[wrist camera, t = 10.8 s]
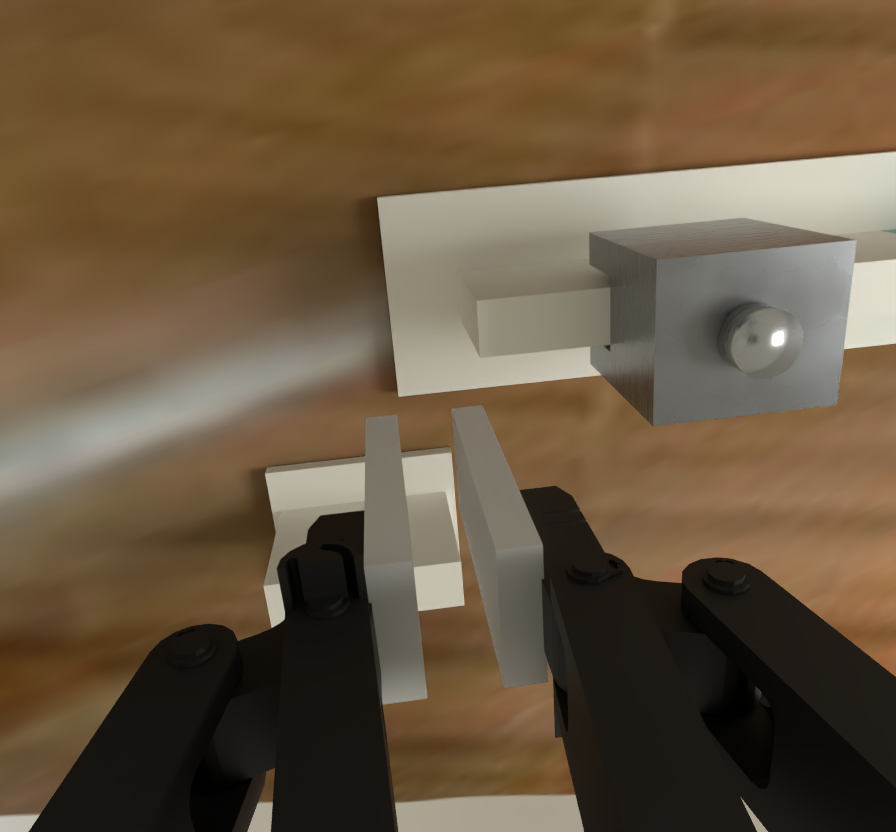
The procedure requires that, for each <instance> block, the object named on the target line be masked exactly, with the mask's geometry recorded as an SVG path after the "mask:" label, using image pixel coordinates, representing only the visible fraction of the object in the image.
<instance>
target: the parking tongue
mask: <svg viewBox="0 0 896 832" xmlns="http://www.w3.org/2000/svg"><path fill="white" fill-rule="evenodd" d="M401 456H402V465H403V474H404V483H405V492H406V501H407V510H408V520H409V529H410V539H411V548H412V558H413V567H414V576H415V586H416V595H417V605H418V611H423V610H431V609H438V608H446V607H454V606H462V605H464V594H463V582H462V569H461V560H460V552H459V540H458V528H457V516H456V504H455V492H454V480H453V468H452V456H451V450H450V447H443V448H435V449H426V450H417V451H408V452H401ZM265 476H266V482H267V487H268V492H269V498H270V503H271V509H272V514H273V519H274V525H275V530H276V535H275V540H274V544H273V548H272V552H271V556H270V561H269V565H268V569H267V573H266V577H265V582H264V591H265V596H266V601H267V606H268V611H269V616H270V621H271V626H272V628H273V627H274V626H276V625H278V624H279V623H281V622H282V621H283V620H284V619H285V610H284V605H283V600H282V594H281V589H280V584H279V579H278V573H277V566H278V564H279V561H280V559H281V558H282V557H284V556H285V555H286V554H287V553H288V552H289V551H291V550H293V549H295V548H297V547H299V546H301V545H303V544H306V539H307V533H308V529H309V528H310V526H311V525H312V524H313V523H314V522H315V521H316V520H317V519H318V517H319V516H320V515H328V514H337V513H345V512H354V511H362V510H364V502H365V456H364V457H355V458H346V459H337V460H328V461H319V462H310V463H301V464H292V465H284V466H275V467H267V469H266V472H265Z"/></svg>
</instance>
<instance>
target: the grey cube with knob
mask: <svg viewBox="0 0 896 832" xmlns="http://www.w3.org/2000/svg"><path fill="white" fill-rule="evenodd" d="M856 243H857V240H854V239H849V238H844V237H839V236H834V235H829V234H824V233H819V232H814V231H809V230H804V229H799V228H794V227H789V226H784V225H778V224H773V223H768V222H763V221H758V220H753V219H748V218H734V219H724V220H714V221H703V222H693V223H682V224H672V225H661V226H651V227H640V228H630V229H620V230H609V231H599V232H589V265H591V266H593V267H595V268H596V269H598V270H600V271H602V272H604V273H605V274H607V275H609V276H610V345H600V346H591V347H590V364H591V365H592V366H593V367H594V368H595V369H596V370H597V371H598V372H599V373H600V374H601V375H602V376H603V377H604V378H605V379H606V380H607V381H608V382H609V383H610V384H611V385H612V386H613V387H614V388H615V389H616V390H617V391H618V392H619V393H620V394H621V395H622V396H623V397H624V398H625V399H626V400H627V401H628V402H629V403H630V404H631V405H632V406H633V407H634V408H635V409H636V410H637V411H638V412H639V413H640V414H641V415H642V416H643V417H644V418H645V419H646V420H647V421H648V422H649V423H650V424H651V425H652V426H658V425H667V424H676V423H684V422H693V421H702V420H710V419H719V418H728V417H737V416H745V415H754V414H763V413H772V412H780V411H789V410H798V409H806V408H815V407H824V406H833V405H837V401H838V393H839V384H840V376H841V368H842V360H843V351H844V343H845V335H846V326H847V318H848V310H849V302H850V293H851V285H852V277H853V268H854V260H855V252H856Z"/></svg>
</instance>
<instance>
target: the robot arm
mask: <svg viewBox="0 0 896 832" xmlns="http://www.w3.org/2000/svg"><path fill="white" fill-rule="evenodd" d="M452 421H453V434H454V446H455V458H456V470H457V483H458V495H459V507H460V512H461V516H462V520H463V524H464V528H465V532H466V536H467V540H468V544H469V548H470V552H471V556H472V560H473V564H474V568H475V572H476V576H477V580H478V584H479V588H480V592H481V596H482V600H483V604H484V608H485V612H486V616H487V620H488V624H489V628H490V632H491V636H492V640H493V645H494V649H495V653H496V657H497V661H498V665H499V669H500V673H501V677H502V681H503V685H504V688H508V687H515V686H522V685H530V684H537V683H544V682H548V675H547V660H548V663H549V666H550V669H551V672H552V675H553V687H554V718H555V738H557V737H562V738H563V743H564V747H565V751H566V755H567V760H568V764H569V768H570V773H571V777H572V781H573V785H574V790H575V794H576V798H577V803H578V807H579V811H580V815H581V819H582V824H583V828H584V832H757V831H756V829H755V826H754V824H753V822H752V820H751V818H750V816H749V814H748V812H747V810H746V808H745V806H744V804H743V802H742V800H741V798H742V799H743V800H744V802H745V803H746V804H747V805H748V807H749V808H750V809H751V811H752V812H753V813H754V814H755V816H756V817H757V818H758V819H759V821H760V822H761V823H762V824H763V826H764V827H765V828H766V830H767V831H768V832H896V677H895V676H894V675H893V674H891V673H890V672H889V671H887V670H886V669H885V668H884V667H882V666H881V665H880V664H879V663H877V662H876V661H875V660H873V659H872V658H871V657H870V656H868V655H867V654H866V653H865V652H863V651H862V650H861V649H860V648H858V647H857V646H856V645H854V644H853V643H852V642H851V641H849V640H848V639H847V638H846V637H844V636H843V635H842V634H840V633H839V632H838V631H837V630H835V629H834V628H833V627H832V626H830V625H829V624H828V623H827V622H825V621H824V620H823V619H821V618H820V617H819V616H818V615H816V614H815V613H814V612H813V611H811V610H810V609H809V608H807V607H806V606H805V605H804V604H802V603H801V602H800V601H799V600H797V599H796V598H795V597H794V596H792V595H791V594H790V593H788V592H787V591H786V590H785V589H783V588H782V587H781V586H780V585H778V584H777V583H776V582H775V581H773V580H772V579H771V578H769V577H768V576H767V575H766V574H764V573H763V572H762V571H760V570H758V569H757V568H755V567H753V566H751V565H750V564H747V563H744V562H740V561H737V560H734V559H729V558H708V559H700V560H698V561H696V562H693V563H691V564H689V565H688V566H687V567H686V568H685V569H684V570H683V571H682V583H672V582H659V581H651V580H644V579H640V578H637V577H634V576H633V574H632V572H631V570H630V568H629V567H628V566H627V565H626V563H625V562H624V561H623V560H621V559H619V558H618V557H616V556H614V555H612V554H608V553H605V552H604V551H603V549H602V547H601V545H600V544H599V542H598V540H597V538H596V537H595V535H594V533H593V531H592V530H591V528H590V526H589V525H588V523H587V522H586V519H585V518H584V516H583V514H582V512H581V511H580V509H579V507H578V505H577V504H576V502H575V500H574V498H573V497H572V496H571V495H570V494H568V493H566V492H565V491H563V490H562V489H560V488H558V487H557V486H551V487H542V488H534V489H525V490H519V488H518V486H517V484H516V482H515V479H514V477H513V475H512V472H511V470H510V468H509V465H508V463H507V461H506V459H505V456H504V454H503V452H502V449H501V447H500V445H499V442H498V440H497V438H496V435H495V433H494V431H493V429H492V426H491V424H490V422H489V419H488V417H487V415H486V412H485V410H484V408H483V406H482V405H481V406H472V407H462V408H453V409H452ZM277 573H278V579H279V584H280V589H281V594H282V600H283V605H284V610H285V619H284V620H283V621H282V622H281V623H279V624H278V625H276V626H274V627H273V628H271V629H269V630H267V631H265V632H262V633H260V634H257V635H254V636H252V637H249V638H246V639H243V640H240V641H237V638H236V636H235V634H234V632H233V631H232V630H230V629H228V628H227V627H225V626H223V625H215V624H204V625H196V626H191V627H188V628H185V629H182V630H180V631H177V632H175V633H173V634H171V635H170V636H168V637H167V638H165V639H163V640H162V641H160V642H159V643H158V644H157V645H156V646H155V647H154V649H153V650H152V651H151V652H150V653H149V654H148V656H147V657H146V659H145V660H144V662H143V663H142V665H141V666H140V668H139V669H138V671H137V672H136V674H135V675H134V677H133V678H132V679H131V681H130V682H129V684H128V685H127V687H126V688H125V690H124V691H123V693H122V694H121V696H120V697H119V699H118V700H117V702H116V703H115V705H114V706H113V708H112V709H111V711H110V712H109V714H108V715H107V716H106V718H105V719H104V721H103V722H102V724H101V725H100V727H99V728H98V730H97V731H96V733H95V734H94V736H93V737H92V739H91V740H90V742H89V743H88V745H87V746H86V748H85V749H84V751H83V752H82V754H81V755H80V756H79V758H78V759H77V761H76V762H75V764H74V765H73V767H72V768H71V770H70V771H69V773H68V774H67V776H66V777H65V779H64V780H63V782H62V783H61V785H60V786H59V788H58V789H57V791H56V792H55V793H54V795H53V796H52V798H51V799H50V801H49V802H48V804H47V805H46V807H45V808H44V810H43V811H42V813H41V814H40V816H39V817H38V819H37V820H36V822H35V823H34V825H33V826H32V828H31V829H30V831H29V832H247V831H248V828H249V825H250V822H251V819H252V817H253V814H254V812H255V809H256V806H257V803H258V801H259V798H260V795H261V792H262V790H263V787H264V784H265V777H266V771H269V770H271V769H273V768H275V777H274V793H273V809H272V825H271V832H398V826H397V817H396V809H395V801H394V793H393V784H392V776H391V768H390V760H389V752H388V744H387V736H386V727H385V720H384V713H383V706H382V701H383V704H390V703H397V702H405V701H412V700H420V699H427V690H426V680H425V671H424V662H423V652H422V643H421V633H420V624H419V614H418V605H417V595H416V586H415V576H414V567H413V558H412V548H411V539H410V529H409V520H408V510H407V501H406V492H405V483H404V474H403V465H402V456H401V447H400V438H399V429H398V420H397V415H389V416H380V417H371V418H365V502H364V510H362V511H354V512H345V513H337V514H328V515H320V516H319V517H318V519H317V520H316V521H315V522H314V523H313V524H312V525H311V526H310V528H309V529H308V533H307V539H306V544H303V545H301V546H299V547H297V548H295V549H293V550H291V551H289V552H288V553H287V554H286V555H285V556H284V557H282V558H281V559H280V561H279V564H278V566H277Z"/></svg>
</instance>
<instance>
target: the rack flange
mask: <svg viewBox="0 0 896 832" xmlns="http://www.w3.org/2000/svg"><path fill="white" fill-rule="evenodd" d="M377 202H378V211H379V221H380V230H381V239H382V248H383V258H384V267H385V276H386V285H387V294H388V304H389V313H390V322H391V331H392V340H393V350H394V359H395V368H396V377H397V387H398V395H399V397H401V396H410V395H420V394H429V393H438V392H448V391H457V390H466V389H476V388H485V387H494V386H504V385H513V384H522V383H532V382H541V381H550V380H560V379H569V378H578V377H587V376H597V375H601V374H600V373H599V372H598V371H597V370H596V369H595V368H594V367H593V366H592V365H591V364H590V347H591V346H600V345H610V276H609V275H607V274H605V273H604V272H602V271H600V270H598V269H596V268H595V267H593V266H591V265H589V232H599V231H609V230H620V229H630V228H640V227H651V226H661V225H672V224H682V223H693V222H703V221H714V220H724V219H734V218H748V219H753V220H758V221H763V222H768V223H773V224H778V225H784V226H789V227H794V228H799V229H804V230H809V231H814V232H819V233H824V234H829V235H834V236H839V237H844V238H849V239H854V240H857V243H856V252H855V260H854V268H853V277H852V285H851V293H850V302H849V310H848V318H847V326H846V335H845V343H844V349H848V348H858V347H867V346H876V345H886V344H895V343H896V151H888V152H877V153H866V154H854V155H843V156H832V157H820V158H809V159H798V160H787V161H775V162H764V163H753V164H741V165H730V166H719V167H707V168H696V169H685V170H673V171H662V172H651V173H640V174H628V175H617V176H606V177H594V178H583V179H572V180H560V181H549V182H538V183H526V184H515V185H504V186H493V187H481V188H470V189H459V190H447V191H436V192H425V193H413V194H402V195H391V196H379V197H377Z"/></svg>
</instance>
